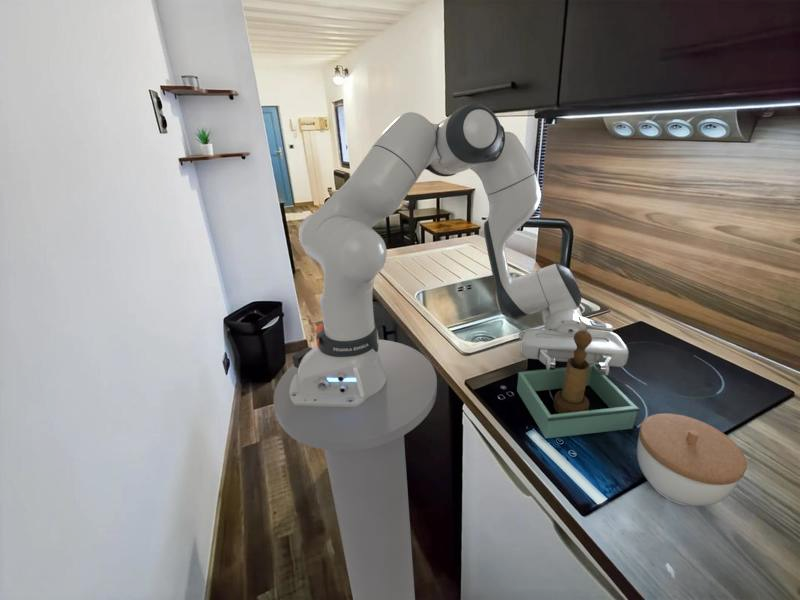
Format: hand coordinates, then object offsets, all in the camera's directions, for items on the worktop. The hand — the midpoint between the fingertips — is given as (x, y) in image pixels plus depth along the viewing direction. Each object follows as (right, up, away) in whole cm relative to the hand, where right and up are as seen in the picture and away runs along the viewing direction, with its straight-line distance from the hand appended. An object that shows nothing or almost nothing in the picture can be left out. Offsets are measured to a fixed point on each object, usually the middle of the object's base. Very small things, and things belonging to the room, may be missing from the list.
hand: (577, 369), depth 70 cm
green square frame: (+1, -9, +4) cm, 10 cm away
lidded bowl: (+9, -16, -12) cm, 22 cm away
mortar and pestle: (+1, -9, +5) cm, 10 cm away
